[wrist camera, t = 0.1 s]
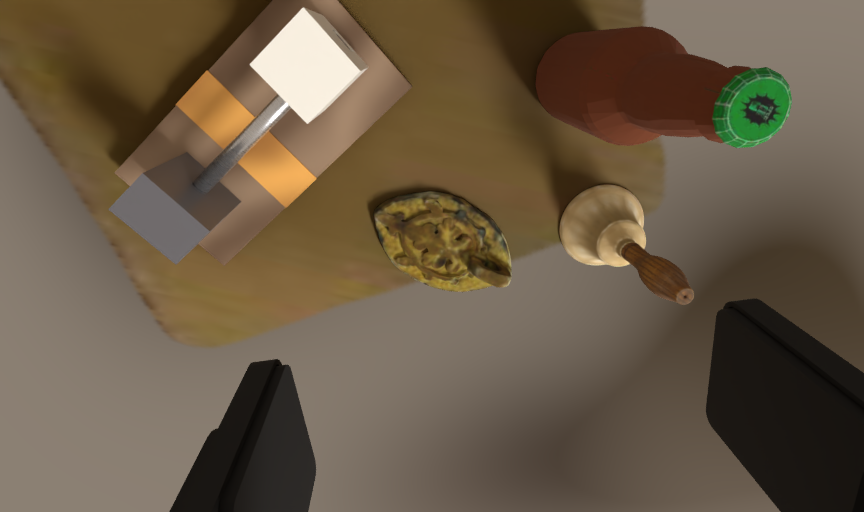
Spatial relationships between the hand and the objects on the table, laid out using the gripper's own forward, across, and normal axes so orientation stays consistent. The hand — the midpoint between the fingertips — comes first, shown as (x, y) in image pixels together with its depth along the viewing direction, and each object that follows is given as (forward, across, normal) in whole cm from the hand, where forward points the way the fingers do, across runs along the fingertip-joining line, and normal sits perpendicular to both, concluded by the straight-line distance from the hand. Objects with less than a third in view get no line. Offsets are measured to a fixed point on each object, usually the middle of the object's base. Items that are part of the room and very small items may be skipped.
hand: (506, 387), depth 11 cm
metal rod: (+33, +13, -3) cm, 35 cm away
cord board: (+37, +14, -2) cm, 40 cm away
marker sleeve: (+34, +8, -7) cm, 36 cm away
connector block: (+36, +21, +2) cm, 41 cm away
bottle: (+37, -13, -3) cm, 40 cm away
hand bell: (+37, -16, +11) cm, 42 cm away
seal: (+38, 0, +11) cm, 39 cm away
